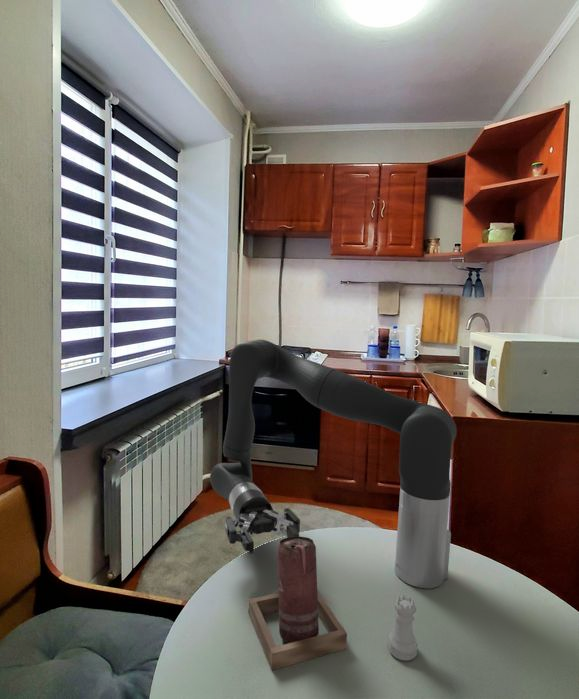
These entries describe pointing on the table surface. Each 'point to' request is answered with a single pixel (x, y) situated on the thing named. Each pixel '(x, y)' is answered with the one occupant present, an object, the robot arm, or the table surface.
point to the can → (297, 589)
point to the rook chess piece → (403, 631)
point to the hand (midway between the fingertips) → (274, 544)
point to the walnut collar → (297, 649)
